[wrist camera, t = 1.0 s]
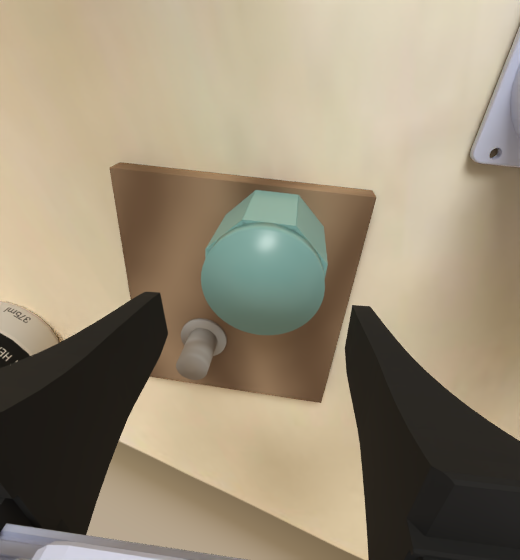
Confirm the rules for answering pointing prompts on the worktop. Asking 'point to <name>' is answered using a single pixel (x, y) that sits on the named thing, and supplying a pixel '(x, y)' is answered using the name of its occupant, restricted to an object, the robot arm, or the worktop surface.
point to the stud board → (188, 266)
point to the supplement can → (22, 334)
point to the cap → (266, 264)
